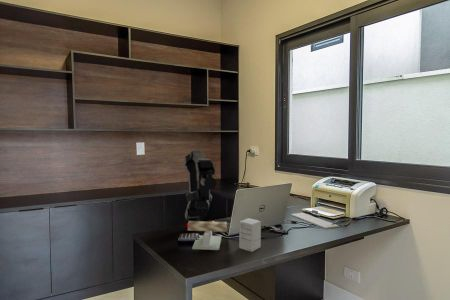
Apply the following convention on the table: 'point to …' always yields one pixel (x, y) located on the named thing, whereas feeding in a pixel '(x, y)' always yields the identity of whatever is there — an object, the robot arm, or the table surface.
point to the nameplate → (277, 230)
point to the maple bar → (207, 226)
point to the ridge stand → (207, 242)
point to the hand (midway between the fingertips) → (203, 218)
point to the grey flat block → (314, 220)
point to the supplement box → (250, 234)
